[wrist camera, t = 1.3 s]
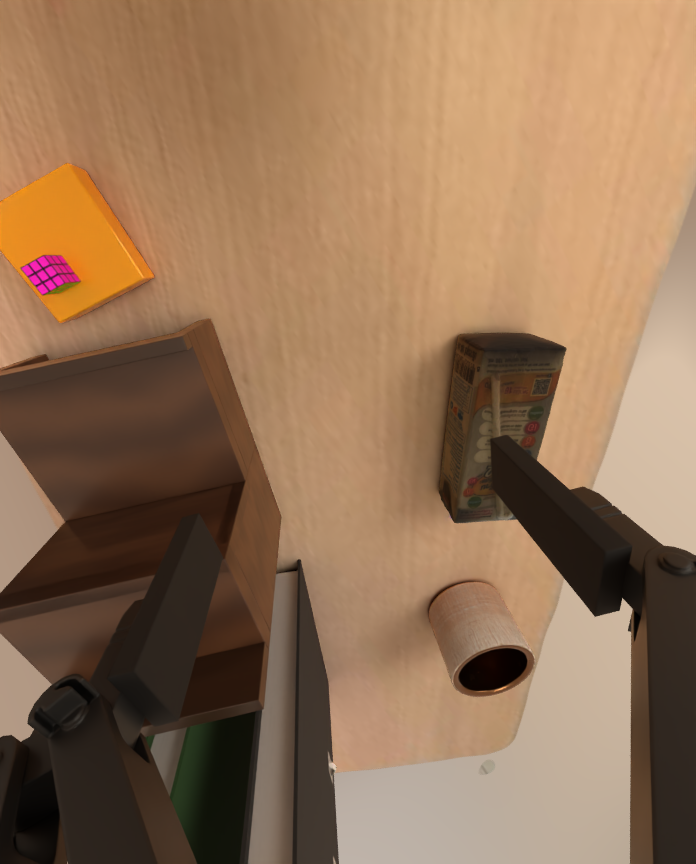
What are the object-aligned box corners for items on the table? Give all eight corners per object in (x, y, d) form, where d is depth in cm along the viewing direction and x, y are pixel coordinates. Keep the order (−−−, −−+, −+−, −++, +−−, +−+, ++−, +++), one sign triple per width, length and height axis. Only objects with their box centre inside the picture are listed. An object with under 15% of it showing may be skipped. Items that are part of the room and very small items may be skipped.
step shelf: (32, 356, 31) (-334, 487, 13) (210, 318, 31) (86, 395, 14) (147, 547, 41) (29, 764, 24) (281, 516, 42) (264, 709, 24)
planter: (512, 587, 52) (554, 652, 43) (472, 634, 56) (503, 702, 47) (452, 570, 49) (483, 636, 40) (413, 621, 53) (435, 691, 44)
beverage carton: (433, 493, 43) (454, 531, 37) (452, 330, 34) (483, 344, 28) (496, 489, 43) (526, 525, 37) (530, 328, 35) (575, 341, 29)
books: (192, 574, 44) (-14, 1158, 15) (311, 557, 45) (325, 1077, 16) (239, 697, 56) (172, 1152, 27) (332, 681, 57) (361, 1105, 28)
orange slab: (-4, 220, 27) (-55, 213, 23) (85, 169, 26) (47, 153, 22) (75, 319, 30) (42, 328, 26) (155, 277, 30) (133, 279, 26)
